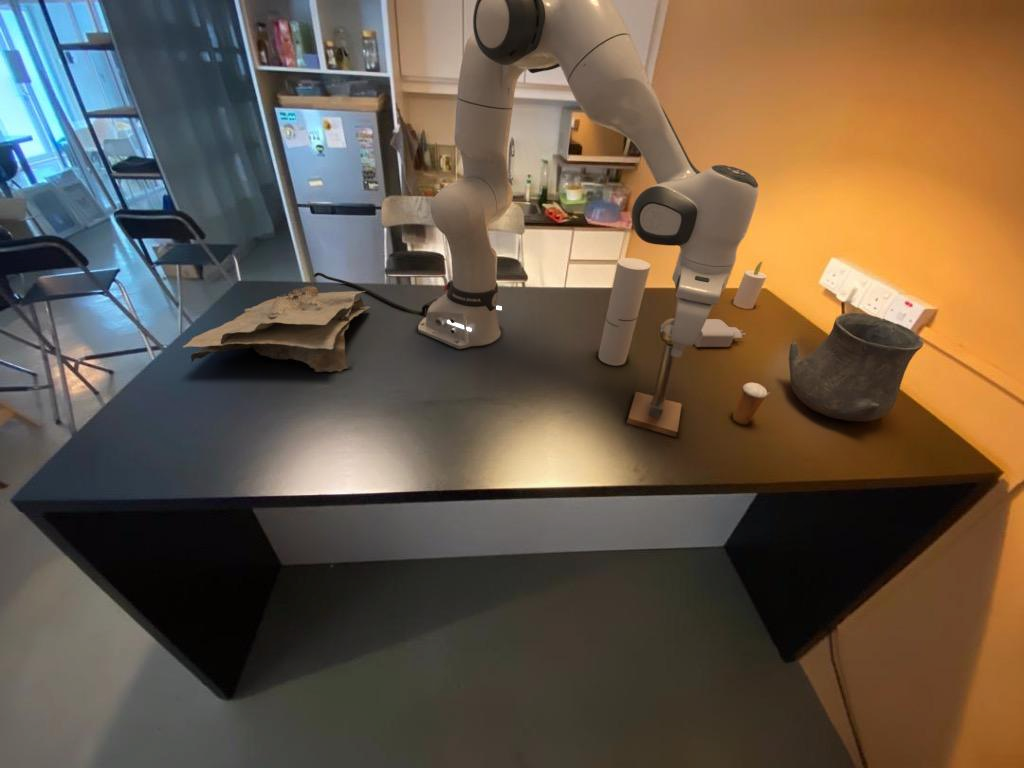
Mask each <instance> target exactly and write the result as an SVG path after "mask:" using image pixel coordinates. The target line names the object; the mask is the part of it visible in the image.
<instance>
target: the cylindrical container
mask: <svg viewBox="0 0 1024 768" xmlns="http://www.w3.org/2000/svg"><path fill="white" fill-rule="evenodd" d="M650 269H651V264H650V263H649V262H647V261H646V260H643V259H640V258H635V257H622V258H620V259H618V260H617V263H616V269H615V273H614V279H613V283H612V287H611V291H610V297H609V302H608V307H607V312H606V316H605V321H604V325H603V326H604V327H603V330H602V336H601V341H600V345H599V350H598V354H597V356H598V359H599V360H600V361H601V362H602V363H604V364H607V365H609V366H621V365H624V364H626V362H627V359H628V354H629V351H630V347H631V343H632V340H633V336H634V333H635V327H636V324H637V320H638V317H639V312H640V308H641V304H642V300H643V298H644V292H645V289H646V286H647V281H648V277H649V273H650Z"/></svg>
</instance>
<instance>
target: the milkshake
mask: <svg viewBox="0 0 1024 768" xmlns="http://www.w3.org/2000/svg"><path fill="white" fill-rule="evenodd" d="M774 390H776V387H774V388H772V389H771V390H770V391H767V389H766V388H765V386H763V385H762V384H760V383H757V382H751V381H750V382H747V383H744V384H743V386H742V389H741V392H740V395H739V398H738V400H737V403H736V406H735V409H734V411H733V414H732V419H733V421H734V422H735V423H737V424H739V425H748V424H749V423H750V421H751V420H752V419H753V417H754V415H755V414H756V412H757V411H758V409H759V407H760V406H761V404H762V403H763V402H764V400H765V399H766V397H767V396H768V395H769V394H770V393H772V392H773V391H774Z"/></svg>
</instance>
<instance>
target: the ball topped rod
mask: <svg viewBox="0 0 1024 768" xmlns="http://www.w3.org/2000/svg"><path fill="white" fill-rule="evenodd" d="M674 318H675V317H674ZM674 318H673V317H672V318H668V319H666V320H665V321H663V323H661V325H660V327H659V330H658V331H659V332H658V335H659V339H661V341H662V342H663V343H664V344H663V349H662V354H661V359H660V363H659V370H658V373H657V377H656V378H657V379H656V383H655V388H654V393H653V396H654V397H653V402H652V403H653V404H652V405H654V406H657V407H661V408H662V406H663V403H664V399H666V394H667V389H668V384H669V380H670V376H671V373H672V369H673V368H672V367H673V364H674V358H675V357H673V356H672V355H671V351H672V348H673V345H674V343H673V342H672V341H671V335H672V329H673V324H674Z"/></svg>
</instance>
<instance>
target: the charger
mask: <svg viewBox="0 0 1024 768" xmlns="http://www.w3.org/2000/svg"><path fill="white" fill-rule="evenodd" d="M743 331H744V330H742V329H739V328H737V327H736V326H728V324H726V323H725V322H724V320H721V319H720V318H707V319H706V321H705V323H704V326H703V328H702V330H701V332H700V334H699V336H698V338H697V340H696V342H695V343H694V344H693V345H694V346H695V347H696V348H729V347H730V346H731V345H732V343H733V341H734V340H741V339H743V336H746V335H747V333H745V332H743Z"/></svg>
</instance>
